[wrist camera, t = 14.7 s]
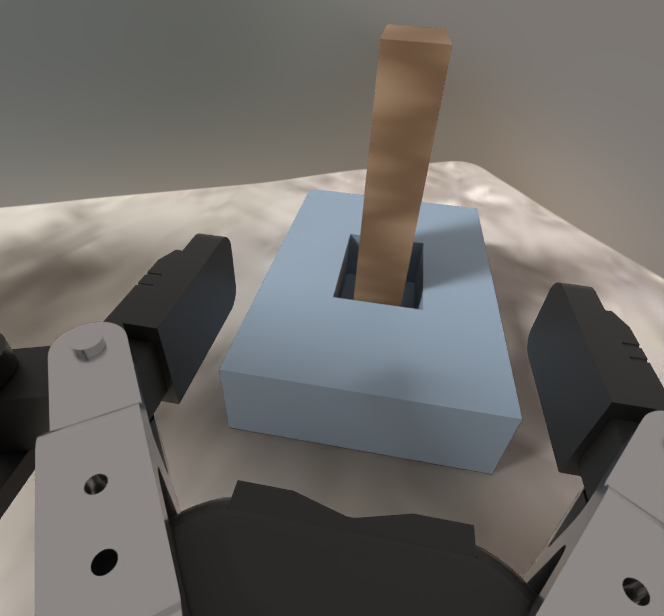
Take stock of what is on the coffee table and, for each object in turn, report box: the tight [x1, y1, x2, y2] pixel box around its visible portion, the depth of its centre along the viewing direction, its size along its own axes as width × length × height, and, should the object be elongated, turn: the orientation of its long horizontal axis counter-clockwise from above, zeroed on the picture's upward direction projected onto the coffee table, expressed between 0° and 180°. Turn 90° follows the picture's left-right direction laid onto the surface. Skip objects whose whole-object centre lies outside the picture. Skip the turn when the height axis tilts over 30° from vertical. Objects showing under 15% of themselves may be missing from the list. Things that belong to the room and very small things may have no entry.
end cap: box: [219, 189, 522, 474], centre depth 25 cm, size 12×18×4 cm, turn 170°
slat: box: [354, 25, 452, 307], centre depth 21 cm, size 2×4×14 cm, turn 171°
